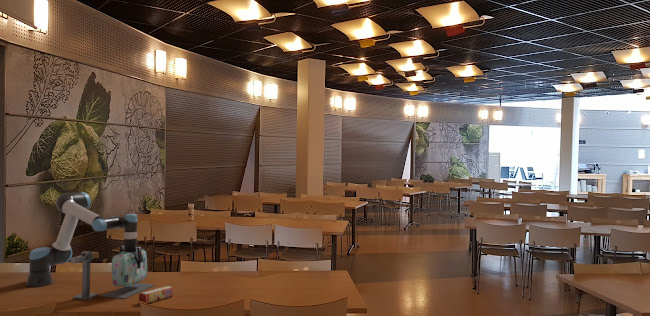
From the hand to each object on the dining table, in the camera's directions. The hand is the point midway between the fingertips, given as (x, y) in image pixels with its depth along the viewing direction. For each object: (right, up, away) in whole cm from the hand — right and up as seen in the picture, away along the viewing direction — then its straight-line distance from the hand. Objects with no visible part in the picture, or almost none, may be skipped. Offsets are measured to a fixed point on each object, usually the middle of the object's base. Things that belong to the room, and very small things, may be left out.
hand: (130, 272), depth 306 cm
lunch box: (0, -7, 0) cm, 7 cm away
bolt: (-21, +12, -18) cm, 30 cm away
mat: (0, -11, 0) cm, 11 cm away
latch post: (-21, -11, -16) cm, 28 cm away
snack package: (+23, -12, -18) cm, 32 cm away
